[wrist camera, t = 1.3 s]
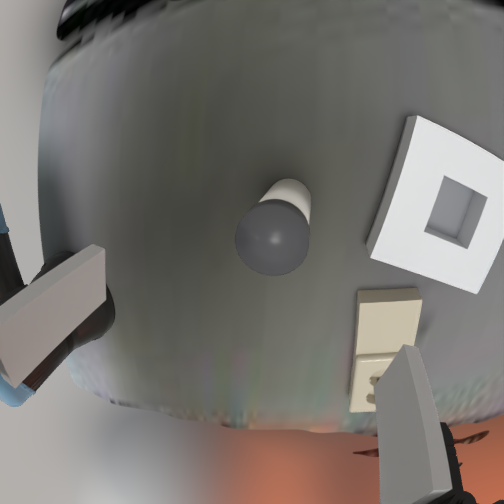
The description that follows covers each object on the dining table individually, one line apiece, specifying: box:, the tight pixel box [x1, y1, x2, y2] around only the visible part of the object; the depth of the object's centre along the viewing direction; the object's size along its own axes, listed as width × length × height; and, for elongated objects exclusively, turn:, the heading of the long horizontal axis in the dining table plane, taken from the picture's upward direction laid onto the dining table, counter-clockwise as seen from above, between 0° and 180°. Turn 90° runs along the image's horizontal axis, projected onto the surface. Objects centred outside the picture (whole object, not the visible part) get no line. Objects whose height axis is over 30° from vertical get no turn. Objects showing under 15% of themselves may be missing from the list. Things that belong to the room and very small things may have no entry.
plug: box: [235, 179, 311, 276], centre depth 25 cm, size 5×5×12 cm
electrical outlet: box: [349, 288, 422, 412], centre depth 33 cm, size 7×4×18 cm
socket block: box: [365, 115, 504, 294], centre depth 25 cm, size 14×14×4 cm
